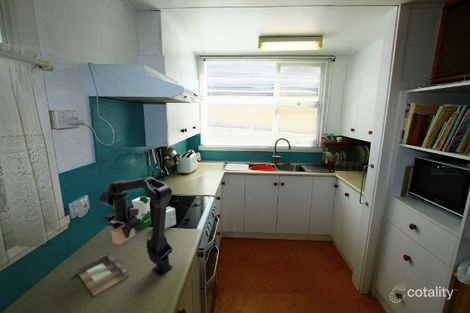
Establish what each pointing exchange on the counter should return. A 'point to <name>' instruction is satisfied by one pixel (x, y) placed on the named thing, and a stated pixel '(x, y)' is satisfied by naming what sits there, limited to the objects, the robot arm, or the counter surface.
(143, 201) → the milk carton
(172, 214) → the light bulb box
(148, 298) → the counter surface
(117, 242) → the terracotta block
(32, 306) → the counter surface
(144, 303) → the counter surface
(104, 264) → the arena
